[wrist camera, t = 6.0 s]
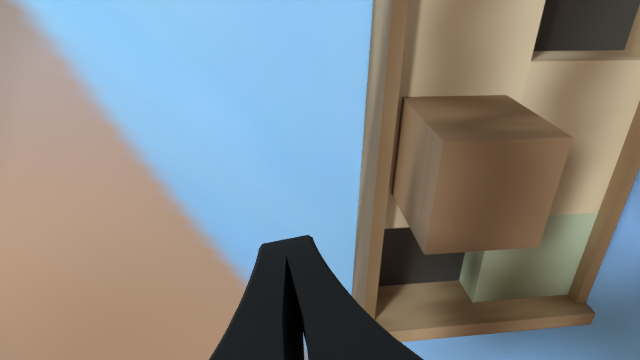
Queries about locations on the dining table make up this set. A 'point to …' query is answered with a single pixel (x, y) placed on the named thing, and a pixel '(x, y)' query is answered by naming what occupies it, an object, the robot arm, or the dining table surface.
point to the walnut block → (476, 172)
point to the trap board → (541, 98)
